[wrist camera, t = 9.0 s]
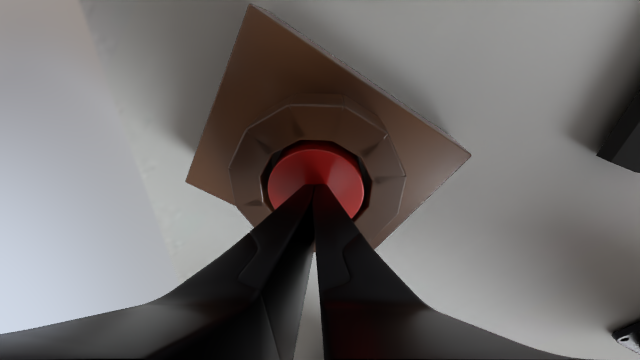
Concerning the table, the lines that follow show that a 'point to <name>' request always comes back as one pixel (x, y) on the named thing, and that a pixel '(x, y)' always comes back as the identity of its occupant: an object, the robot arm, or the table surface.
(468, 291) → the table surface
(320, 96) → the button block
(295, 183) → the button
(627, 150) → the remote control
